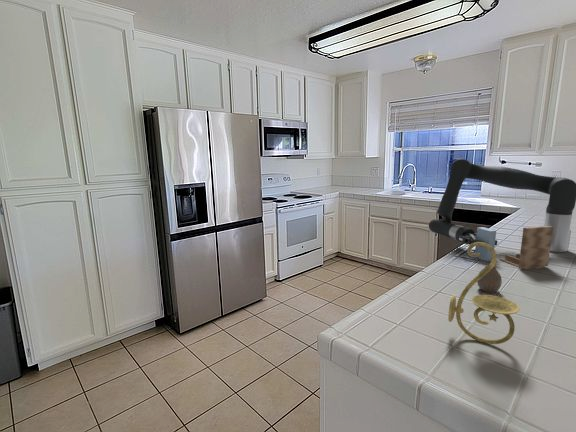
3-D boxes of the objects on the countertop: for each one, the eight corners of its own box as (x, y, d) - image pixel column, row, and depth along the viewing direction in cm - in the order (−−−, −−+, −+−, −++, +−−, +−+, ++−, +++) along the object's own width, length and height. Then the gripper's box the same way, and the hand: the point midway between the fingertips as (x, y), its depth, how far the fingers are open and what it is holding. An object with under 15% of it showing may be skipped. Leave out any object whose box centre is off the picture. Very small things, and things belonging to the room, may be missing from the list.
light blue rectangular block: (480, 255, 143) (483, 227, 141) (493, 260, 136) (496, 230, 134) (474, 256, 143) (477, 227, 140) (486, 261, 136) (490, 231, 133)
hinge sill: (520, 258, 138) (525, 220, 135) (547, 267, 127) (553, 226, 124) (496, 260, 136) (500, 222, 133) (521, 270, 125) (526, 228, 122)
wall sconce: (445, 341, 79) (453, 243, 74) (451, 325, 86) (459, 235, 82) (514, 361, 71) (528, 253, 66) (514, 341, 78) (526, 242, 74)
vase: (497, 287, 109) (499, 263, 108) (503, 296, 103) (506, 270, 101) (474, 285, 112) (476, 261, 110) (478, 293, 105) (481, 268, 103)
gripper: (448, 227, 150) (475, 236, 134) (475, 225, 152) (505, 234, 136) (447, 242, 151) (474, 253, 135) (474, 240, 154) (503, 250, 138)
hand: (489, 243), depth 136 cm, fingers open, 6 cm apart
